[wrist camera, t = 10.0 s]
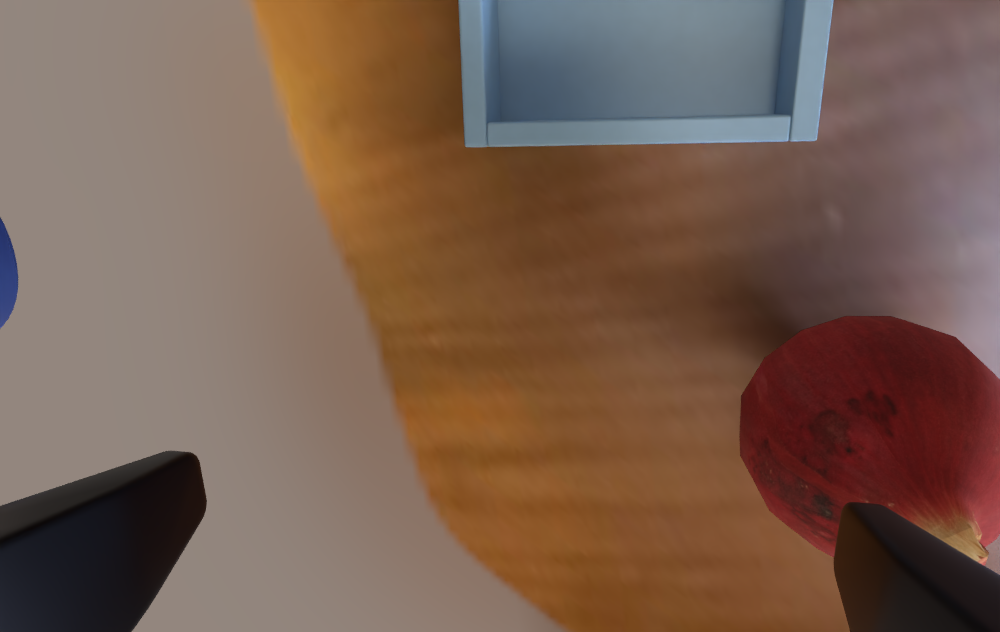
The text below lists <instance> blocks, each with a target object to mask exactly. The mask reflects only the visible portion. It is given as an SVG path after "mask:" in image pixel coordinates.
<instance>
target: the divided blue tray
mask: <svg viewBox="0 0 1000 632" xmlns="http://www.w3.org/2000/svg"><path fill="white" fill-rule="evenodd" d="M458 2H459V26H460V49H461V72H462V95H463V119H464V142H465V147H487V146H489V147H518V146H572V145H626V144H680V143H734V142H786V141H816V139H817V134H818V126H819V117H820V109H821V100H822V92H823V83H824V75H825V67H826V58H827V50H828V41H829V33H830V24H831V16H832V8H833V0H458Z"/></svg>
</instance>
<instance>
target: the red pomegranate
mask: <svg viewBox="0 0 1000 632" xmlns="http://www.w3.org/2000/svg"><path fill="white" fill-rule="evenodd" d="M740 456H741V458H742V459H743V461H744V463H745V465H746V467H747V469H748V471H749V473H750V475H751V476H752V478H753V480H754V482H755V484H756V486H757V488H758V490H759V492H760V494H761V495H762V497H763V499H764V501H765V503H766V505H767V507H768V509H769V511H771V512H772V513H773V514H774V515H775V516H776V517H778V518H779V519H780V520H781V521H782V522H784V523H785V524H786V525H787V526H789V527H790V528H791V529H793V530H794V531H795V532H796V533H798V534H799V535H800V536H802V537H803V538H804V539H806V540H807V541H808V542H809V543H811V544H812V545H813V546H815V547H816V548H817V549H819V550H821V551H823V552H825V553H826V554H828V555H830V556H832V557H834V553H835V547H836V541H837V535H838V529H839V523H840V517H841V512H842V509H843V507H844V506H845V505H846V504H847V503H849V502H859V503H873V504H880V505H883V506H885V507H887V508H888V509H890V510H892V511H893V512H895V513H897V514H898V515H900V516H902V517H903V518H905V519H907V520H908V521H910V522H912V523H913V524H915V525H917V526H918V527H920V528H922V529H923V530H925V531H927V532H929V533H930V534H932V535H934V536H935V537H937V538H939V539H940V540H942V541H944V542H945V543H947V544H949V545H950V546H952V547H954V548H955V549H957V550H959V551H960V552H962V553H964V554H965V555H967V556H969V557H970V558H972V559H974V560H975V561H977V562H979V563H980V564H982V565H985V563H986V561H987V557H988V554H989V552H988V551H987V550H986V549H985V547H986V546H987V545H989V544H990V543H992V542H993V541H994V540H996V539H997V537H998V536H999V534H1000V379H999V378H998V377H997V376H996V375H995V374H994V373H993V372H992V371H991V370H990V369H989V368H988V367H987V366H985V365H984V364H983V363H982V362H981V361H980V360H979V359H978V358H977V357H976V356H975V355H974V354H973V353H972V352H971V351H970V350H969V349H968V348H967V347H965V346H964V345H963V344H962V343H961V342H960V341H959V340H958V339H957V338H956V337H954V336H951V335H948V334H945V333H942V332H939V331H936V330H933V329H929V328H926V327H923V326H920V325H917V324H914V323H911V322H908V321H905V320H902V319H898V318H895V317H891V316H844V317H841V318H838V319H835V320H832V321H829V322H826V323H823V324H820V325H817V326H813V327H810V328H807V329H804V330H801V331H800V332H799V333H797V334H796V335H795V336H793V337H792V338H791V339H789V340H788V341H787V342H785V343H784V344H783V345H781V346H780V347H779V348H777V349H776V350H775V351H773V352H772V353H771V354H769V355H768V356H767V357H765V358H764V360H763V361H762V363H761V364H760V366H759V368H758V369H757V371H756V373H755V374H754V376H753V377H752V379H751V381H750V382H749V384H748V386H747V387H746V389H745V391H744V392H743V394H742V395H741V416H740Z"/></svg>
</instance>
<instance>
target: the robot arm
mask: <svg viewBox="0 0 1000 632" xmlns="http://www.w3.org/2000/svg"><path fill="white" fill-rule="evenodd" d="M206 502H207V500H206V494H205V489H204V483H203V478H202V473H201V467H200V462H199V460H198V458H197V456H196V455H194V454H193V453H190V452H179V451H165V452H162V453H159V454H156V455H153V456H150V457H147V458H144V459H141V460H138V461H135V462H132V463H129V464H126V465H123V466H120V467H117V468H114V469H111V470H108V471H105V472H102V473H99V474H96V475H93V476H90V477H87V478H83V479H80V480H78V481H74V482H72V483H68V484H65V485H62V486H59V487H56V488H53V489H50V490H48V491H44V492H41V493H38V494H35V495H32V496H29V497H26V498H23V499H20V500H17V501H14V502H11V503H8V504H5V505H2V506H0V632H131V631H132V630H133V629H134V628H135V626H136V625H137V623H138V622H139V621H140V619H141V618H142V616H143V615H144V613H145V612H146V610H147V609H148V608H149V606H150V605H151V603H152V601H153V600H154V598H155V597H156V595H157V594H158V592H159V590H160V589H161V587H162V585H163V584H164V582H165V580H166V579H167V577H168V575H169V574H170V572H171V570H172V568H173V567H174V565H175V564H176V562H177V560H178V559H179V557H180V555H181V554H182V552H183V550H184V548H185V547H186V545H187V544H188V542H189V540H190V539H191V537H192V535H193V534H194V532H195V530H196V529H197V527H198V525H199V524H200V522H201V520H202V519H203V517H204V513H205V511H206ZM834 572H835V577H836V581H837V585H838V588H839V592H840V596H841V599H842V603H843V606H844V610H845V614H846V617H847V621H848V624H849V628H850V632H1000V575H999V574H997V573H995V572H994V571H992V570H990V569H989V568H987V567H985V566H984V565H982V564H980V563H979V562H977V561H975V560H974V559H972V558H970V557H969V556H967V555H965V554H964V553H962V552H960V551H959V550H957V549H955V548H954V547H952V546H950V545H949V544H947V543H945V542H944V541H942V540H940V539H939V538H937V537H935V536H934V535H932V534H930V533H929V532H927V531H925V530H923V529H922V528H920V527H918V526H917V525H915V524H913V523H912V522H910V521H908V520H907V519H905V518H903V517H902V516H900V515H898V514H897V513H895V512H893V511H892V510H890V509H888V508H887V507H885V506H883V505H880V504H873V503H859V502H849V503H847V504H846V505H845V506H844V507H843V509H842V512H841V517H840V523H839V529H838V535H837V541H836V547H835V553H834Z"/></svg>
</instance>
